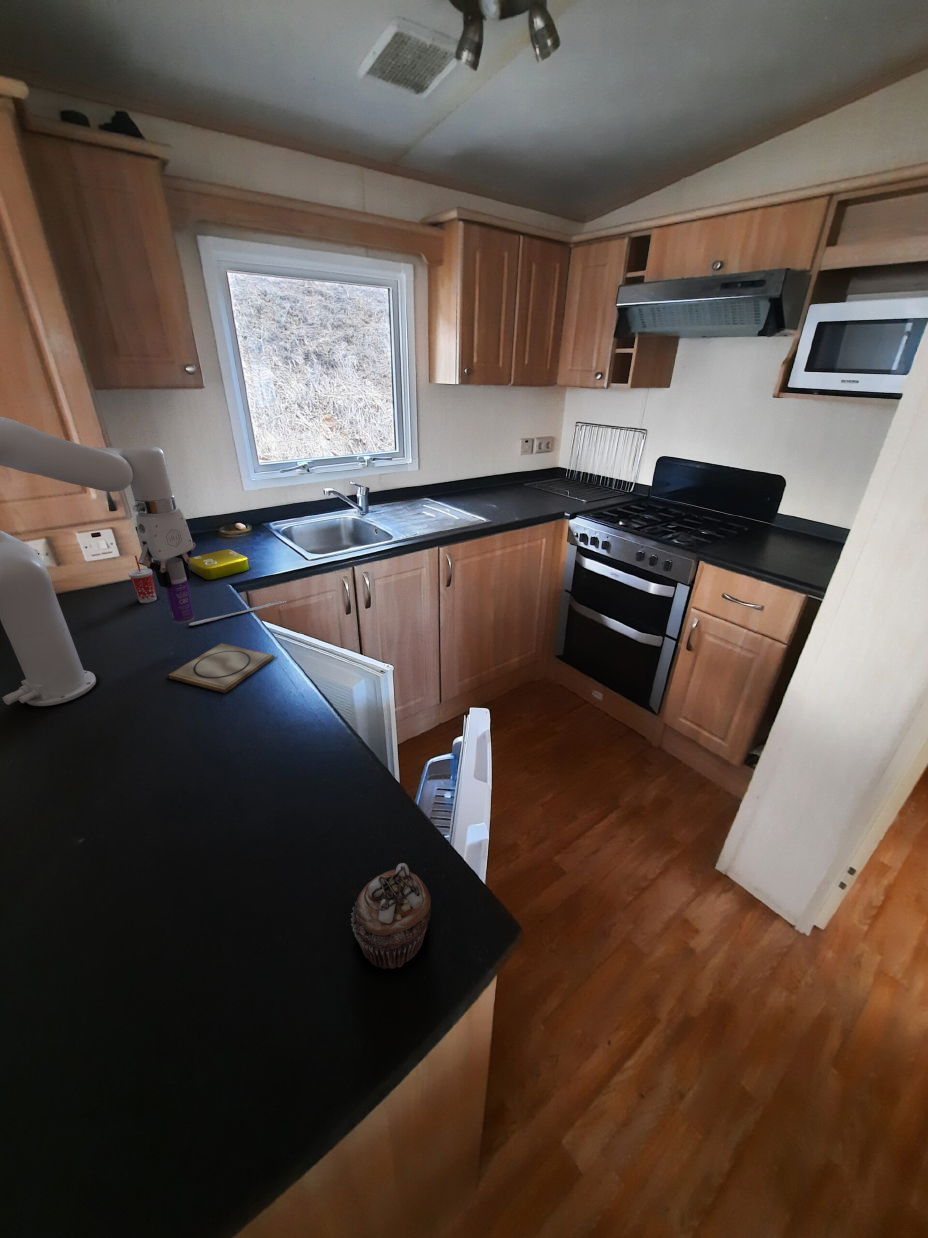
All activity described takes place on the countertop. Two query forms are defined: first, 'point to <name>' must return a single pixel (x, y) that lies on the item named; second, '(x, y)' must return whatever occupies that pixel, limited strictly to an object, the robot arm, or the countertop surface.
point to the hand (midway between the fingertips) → (175, 582)
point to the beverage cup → (143, 584)
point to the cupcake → (392, 917)
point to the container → (179, 592)
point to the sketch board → (221, 667)
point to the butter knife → (233, 614)
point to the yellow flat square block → (219, 564)
